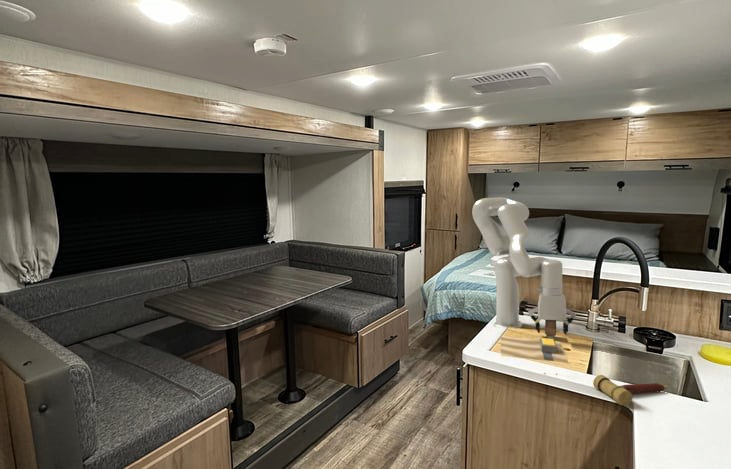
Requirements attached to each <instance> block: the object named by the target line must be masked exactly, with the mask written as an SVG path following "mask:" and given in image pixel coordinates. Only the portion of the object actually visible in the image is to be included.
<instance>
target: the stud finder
mask: <svg viewBox="0 0 731 469" xmlns="http://www.w3.org/2000/svg"><path fill="white" fill-rule="evenodd" d="M539 340H540V347H541V352H544V353H554V354H557V346H556V343H555V341H556V340H555V339H548V338H545V337H542V338H539Z"/></svg>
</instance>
